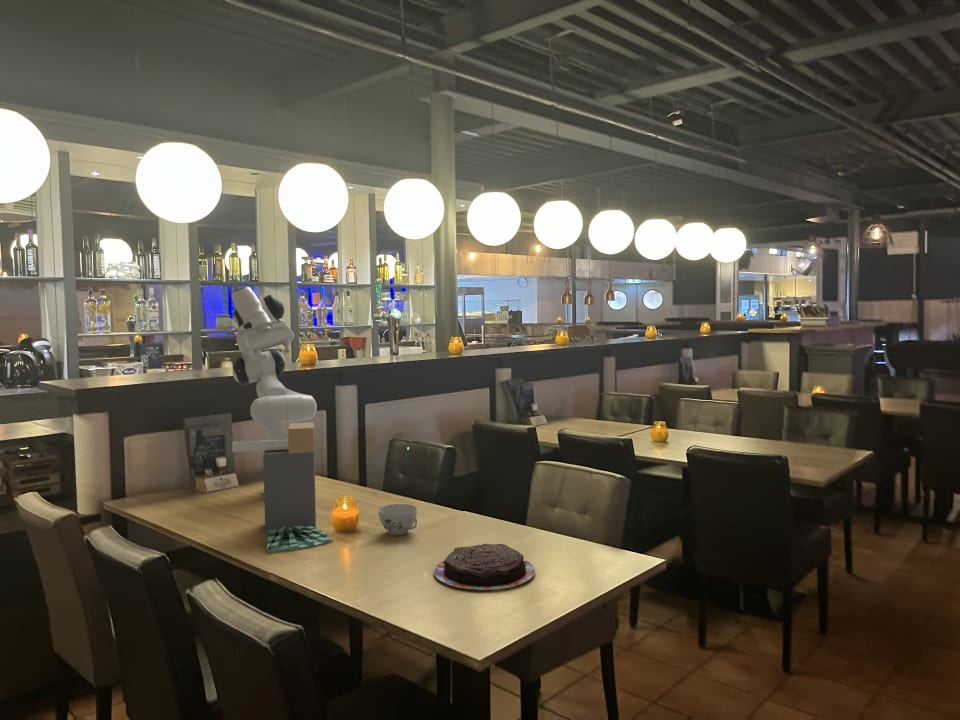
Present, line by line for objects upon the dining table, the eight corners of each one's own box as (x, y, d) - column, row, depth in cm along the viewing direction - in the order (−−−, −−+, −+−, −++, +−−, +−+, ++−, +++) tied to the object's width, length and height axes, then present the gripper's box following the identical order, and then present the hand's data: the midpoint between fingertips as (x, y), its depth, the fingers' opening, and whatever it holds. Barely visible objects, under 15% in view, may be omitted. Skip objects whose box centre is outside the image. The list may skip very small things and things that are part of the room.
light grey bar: (233, 450, 244) (233, 441, 244) (308, 447, 249) (307, 438, 249) (232, 452, 241) (232, 442, 241) (307, 448, 246) (307, 439, 246)
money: (303, 532, 242) (303, 518, 242) (334, 543, 232) (334, 527, 231) (249, 547, 227) (248, 532, 227) (279, 559, 217) (278, 543, 216)
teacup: (370, 533, 240) (370, 509, 239) (399, 524, 249) (398, 501, 249) (401, 543, 230) (401, 517, 229) (430, 533, 239) (430, 509, 239)
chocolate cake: (447, 599, 186) (446, 574, 186) (424, 563, 213) (423, 540, 213) (550, 587, 194) (550, 562, 194) (515, 553, 221) (515, 531, 220)
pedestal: (268, 522, 252) (265, 424, 250) (316, 519, 256) (313, 422, 253) (265, 533, 241) (262, 429, 238) (315, 530, 244) (313, 428, 241)
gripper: (281, 323, 280) (298, 353, 278) (231, 336, 267) (249, 368, 264) (286, 314, 276) (303, 345, 273) (236, 327, 262) (253, 360, 260)
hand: (276, 356), depth 269 cm, fingers open, 8 cm apart
